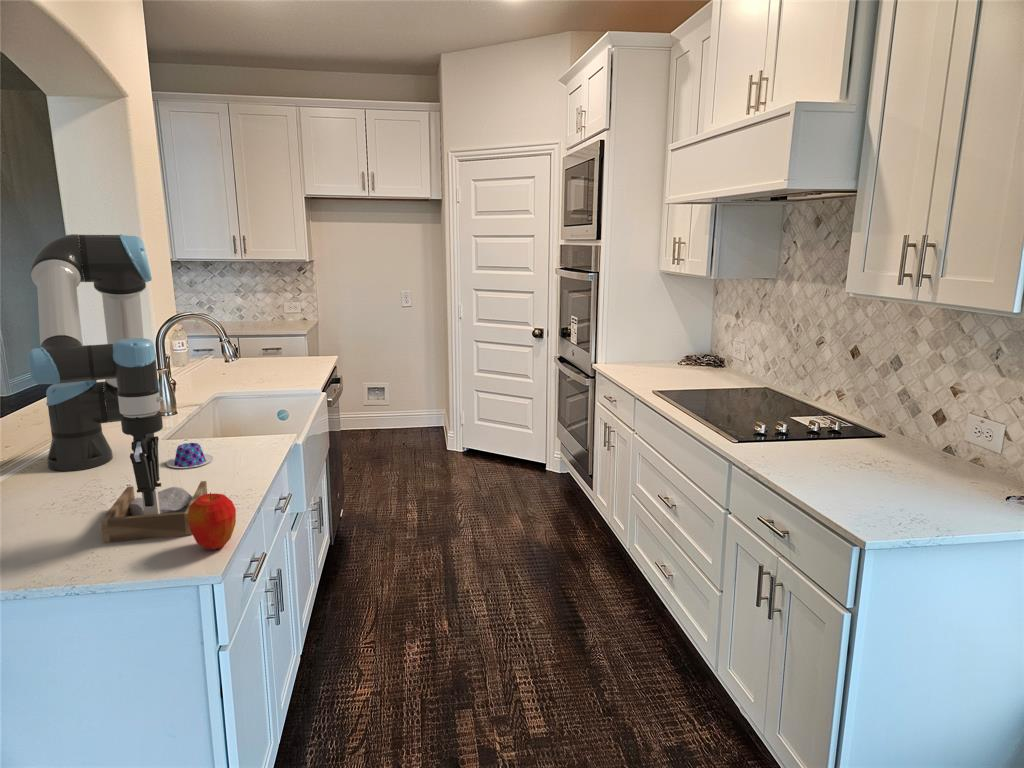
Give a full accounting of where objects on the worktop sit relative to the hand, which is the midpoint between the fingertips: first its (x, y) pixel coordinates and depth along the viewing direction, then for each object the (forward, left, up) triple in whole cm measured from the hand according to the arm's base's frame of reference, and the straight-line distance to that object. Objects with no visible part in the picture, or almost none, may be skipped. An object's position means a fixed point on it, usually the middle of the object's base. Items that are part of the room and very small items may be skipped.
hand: (152, 517), depth 142 cm
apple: (+11, +14, -3) cm, 18 cm away
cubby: (-5, 0, -3) cm, 6 cm away
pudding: (-45, -1, -4) cm, 45 cm away
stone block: (-10, 0, -4) cm, 11 cm away
